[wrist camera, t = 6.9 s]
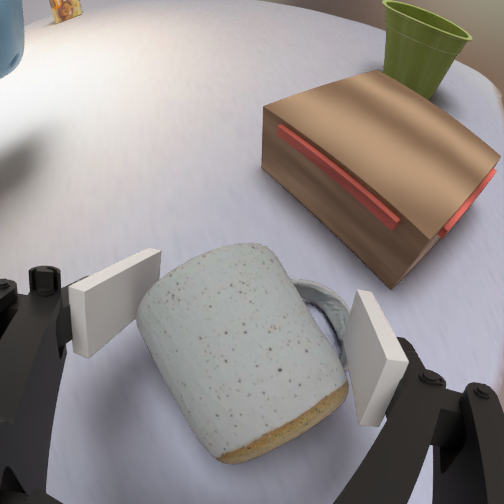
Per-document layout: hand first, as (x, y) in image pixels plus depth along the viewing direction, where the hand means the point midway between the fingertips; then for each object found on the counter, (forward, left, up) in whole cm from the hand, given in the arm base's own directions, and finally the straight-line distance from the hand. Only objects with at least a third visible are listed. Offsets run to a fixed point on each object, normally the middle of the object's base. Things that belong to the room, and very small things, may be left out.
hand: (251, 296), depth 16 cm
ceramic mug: (-1, -2, -4) cm, 5 cm away
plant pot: (+36, +12, -4) cm, 38 cm away
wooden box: (+16, +3, -4) cm, 16 cm away
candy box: (+10, +105, -4) cm, 106 cm away
